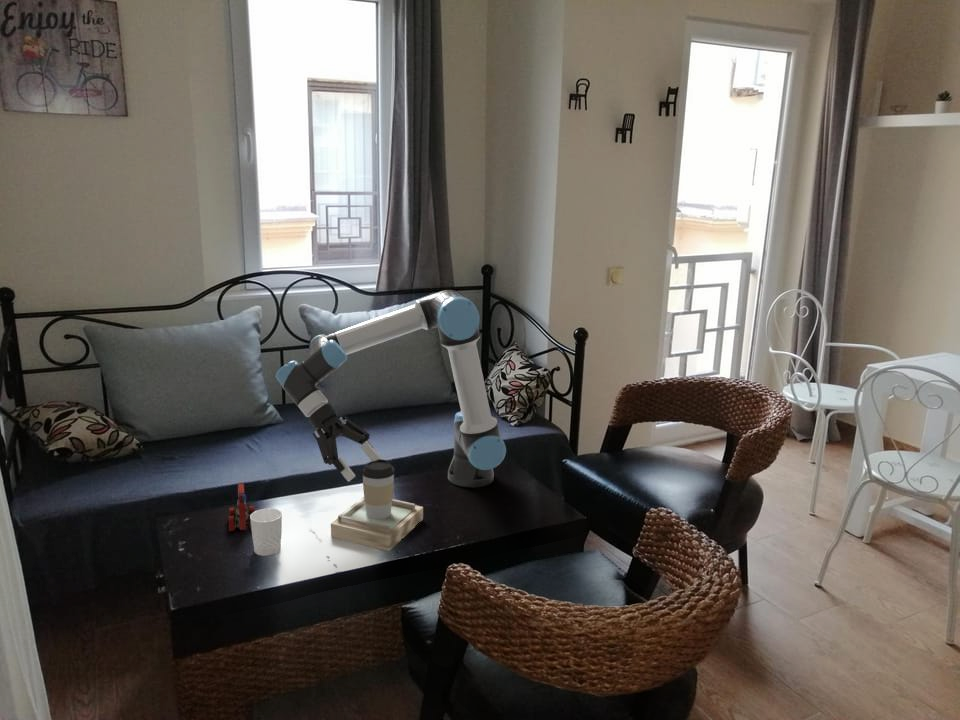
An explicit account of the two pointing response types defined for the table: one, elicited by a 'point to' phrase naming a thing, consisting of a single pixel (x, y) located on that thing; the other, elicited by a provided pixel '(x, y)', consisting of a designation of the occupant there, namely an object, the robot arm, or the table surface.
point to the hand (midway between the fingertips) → (365, 470)
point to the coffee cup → (378, 488)
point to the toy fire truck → (240, 512)
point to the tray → (377, 525)
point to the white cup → (266, 531)
